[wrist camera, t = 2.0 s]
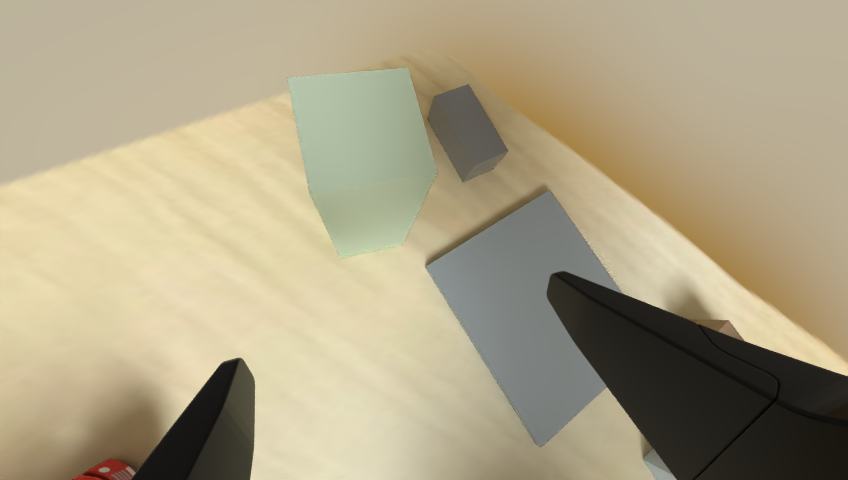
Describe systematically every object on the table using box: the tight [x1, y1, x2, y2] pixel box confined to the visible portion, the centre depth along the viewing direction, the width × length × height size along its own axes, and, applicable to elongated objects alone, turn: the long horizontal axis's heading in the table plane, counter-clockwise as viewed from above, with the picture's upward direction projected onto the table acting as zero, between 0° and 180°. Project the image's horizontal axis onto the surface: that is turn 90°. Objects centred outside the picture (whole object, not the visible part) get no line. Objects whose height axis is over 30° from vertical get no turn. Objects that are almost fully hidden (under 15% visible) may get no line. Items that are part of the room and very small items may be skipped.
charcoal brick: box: [428, 84, 508, 182], centre depth 24 cm, size 6×3×3 cm, turn 28°
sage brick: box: [287, 67, 438, 259], centre depth 17 cm, size 4×4×12 cm
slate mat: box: [425, 190, 622, 447], centre depth 23 cm, size 14×12×1 cm
